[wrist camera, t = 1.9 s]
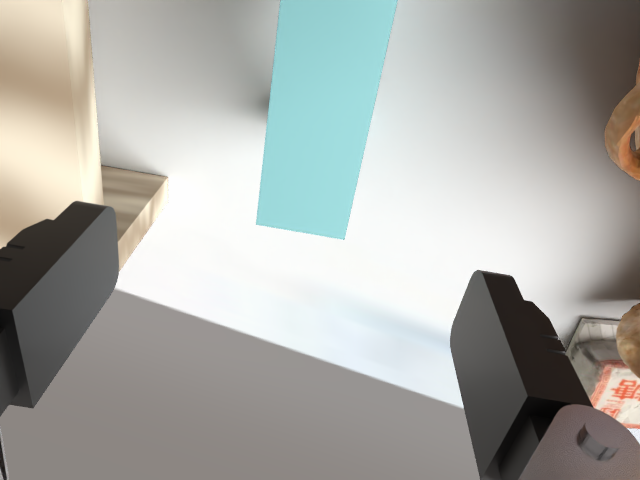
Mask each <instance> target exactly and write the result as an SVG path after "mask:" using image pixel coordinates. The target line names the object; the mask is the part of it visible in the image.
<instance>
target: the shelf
mask: <svg viewBox="0 0 640 480" xmlns="http://www.w3.org/2000/svg"><path fill="white" fill-rule="evenodd" d="M74 201H81V202H87V203H93V204H99V205H105V206H110V207H112V208H113V209H114V210H115V214H116V223H117V239H118V254H119V271H120V270H121V268H122V267H123V265H124V264H125V263H126V261H127V260H128V258H129V257H130V255H131V254H132V253H133V251H134V250H135V248H136V247H137V245H138V244H139V243H140V241H141V240H142V238H143V237H144V235H145V234H146V233H147V231H148V230H149V228H150V227H151V225H152V224H153V223H154V221H155V220H156V218H157V217H158V215H159V214H160V213H161V211H162V210H163V208H164V207H165V205H166V204H167V203H168V177H164V176H159V175H153V174H147V173H141V172H136V171H130V170H124V169H118V168H113V167H107V166H101V162H100V149H99V137H98V124H97V111H96V99H95V86H94V73H93V60H92V48H91V35H90V22H89V9H88V0H0V249H1V248H2V247H6V245H7V243H8V242H9V241H10V240H11V239H12V238H13V237H15V236H16V235H17V234H18V233H19V232H20V231H21V230H23V229H25V228H27V227H29V226H31V225H34V224H36V223H38V222H40V221H42V220H45V219H51V220H54V219H55V218H56V217H58V216H59V215H60V214H61V213H62V212H63V211H64V210H65V209H66V208H67V207H68V206H69V205H70V204H71V203H73V202H74Z"/></svg>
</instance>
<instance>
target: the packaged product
mask: <svg viewBox="0 0 640 480" xmlns="http://www.w3.org/2000/svg"><path fill="white" fill-rule="evenodd" d="M619 323H620V321H613V320H603V319H585V318H582V319H581V321H580V323H579V325H578V327H577V329H576V331H575V334H574V336H573V338H572V340H571V342H570V344H569V347H568V349H567V351H566V353H565V355H566V356H568V357H569V359H570V361H571V363H572V365H573V367H574V369H575V371H576V373H577V375H578V377H579V379H580V381H581V383H582V385H583V387H584V389H585V391H586V393H587V395H588V397H589V399H590V401H591V403H592V405H593V407H594V408H596V409H598V410H600V411H602V412H604V413H606V414H608V415H610V416H611V417H613V418H614V419H616V420H617V421H618V422H620V423H621V424H622V425H623V426H625V427H626V428H630V429H631V428H638V429H640V378H638V377H637V376H636V375H635V374H634V373H632V372H631V370H630V369H629V367H628V366H627V365H626V364H625V363H624V362H623V360H622V358H621V357H620V355H619V353H618V349H617V343H616V332H617V327H618V325H619Z"/></svg>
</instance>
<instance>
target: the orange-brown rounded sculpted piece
mask: <svg viewBox="0 0 640 480" xmlns="http://www.w3.org/2000/svg"><path fill="white" fill-rule="evenodd" d="M634 131H635V145H636V151H635V152H634V151H632V150H631V148H630V138H631V134H632V133H633V132H634ZM605 147H606V150H607V152H608V155H609V157H610V159H611V160H612V161H613V162H614V163H615V164H616V165H617V166H618V167H619V168H620V169H621V170H623V171H624V172H626V173H627V174H629V175H630V176H632V177H633V178H634V179H636V180H639V181H640V60H639V68H638V71H637V75H636V85H635V86H634V87H633V88H632V89H631V90H630V92H629V93H628V94H627V95H626V96H625V97H624V98H623V99H622V100H621V101H620V102H619V103H618V105H617V106H616V107H615V109H614V110H613V112H612V115H611V117H610V119H609V121H608V123H607V125H606V128H605ZM616 343H617V349H618V353H619V355H620V357H621V358H622V360H623V362H624V363H625V364H626V365H627V366H628V367H629V369H630V370H631V372H632V373H634V374H635V375H636V376H637V377H638V378H640V303H639V304H637V305H635V306H633V307H632V308H631V309H630V311H628V312H627V313H626V314H624V315H623V316H622V319H621V321H620V323H619V325H618V327H617V332H616Z"/></svg>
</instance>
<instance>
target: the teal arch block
mask: <svg viewBox="0 0 640 480" xmlns="http://www.w3.org/2000/svg"><path fill="white" fill-rule="evenodd" d="M397 1H398V0H280V9H279V18H278V27H277V36H276V45H275V55H274V64H273V73H272V82H271V91H270V101H269V110H268V119H267V128H266V137H265V147H264V156H263V165H262V174H261V183H260V193H259V202H258V211H257V220H256V225H262V226H267V227H273V228H279V229H285V230H291V231H296V232H302V233H308V234H314V235H320V236H325V237H331V238H337V239H343V240H344V239H345V235H346V230H347V226H348V221H349V217H350V212H351V208H352V203H353V199H354V194H355V190H356V185H357V181H358V176H359V172H360V167H361V163H362V158H363V154H364V149H365V145H366V140H367V136H368V131H369V127H370V122H371V118H372V113H373V109H374V104H375V100H376V95H377V91H378V86H379V82H380V77H381V73H382V68H383V64H384V59H385V55H386V50H387V46H388V41H389V37H390V32H391V28H392V23H393V19H394V14H395V10H396V5H397Z"/></svg>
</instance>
